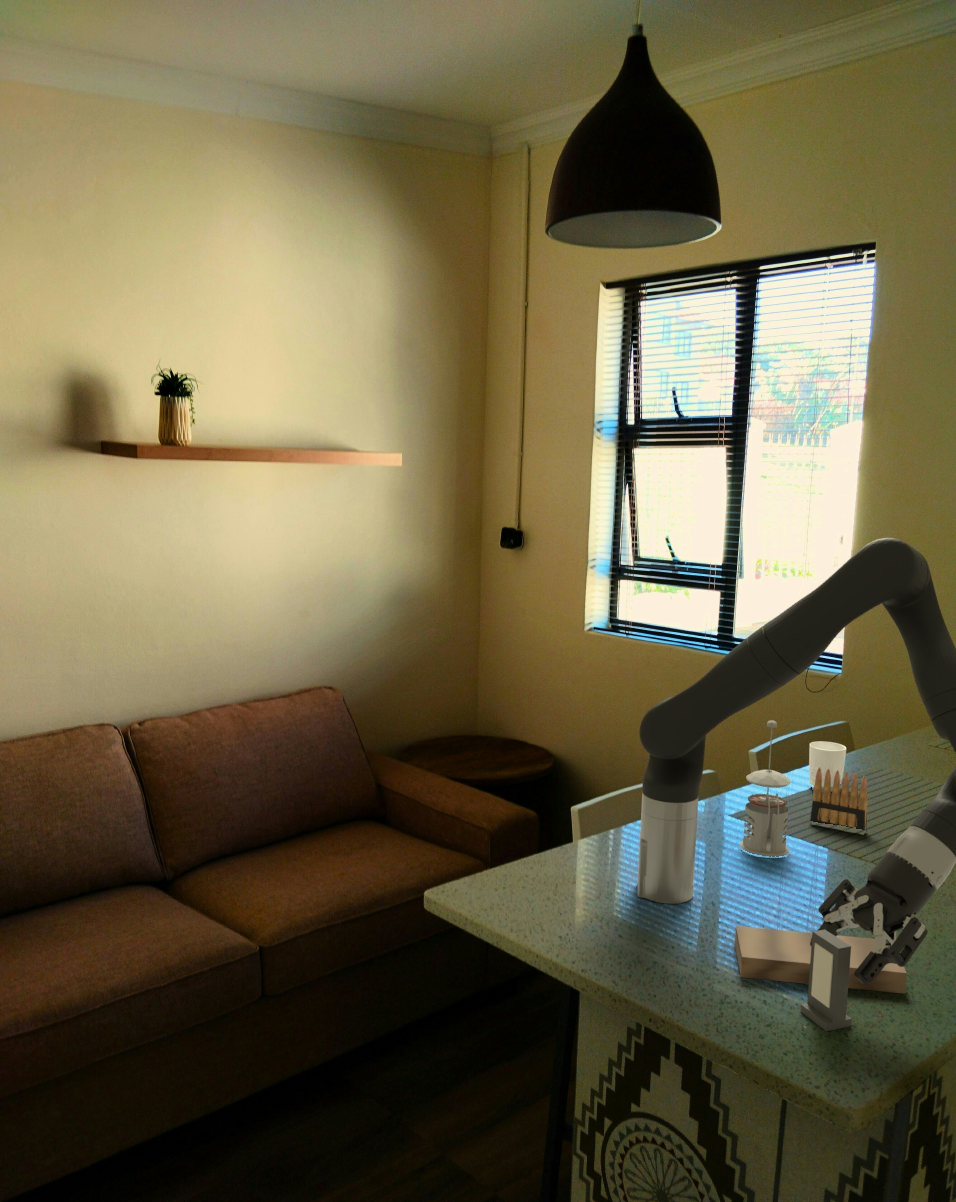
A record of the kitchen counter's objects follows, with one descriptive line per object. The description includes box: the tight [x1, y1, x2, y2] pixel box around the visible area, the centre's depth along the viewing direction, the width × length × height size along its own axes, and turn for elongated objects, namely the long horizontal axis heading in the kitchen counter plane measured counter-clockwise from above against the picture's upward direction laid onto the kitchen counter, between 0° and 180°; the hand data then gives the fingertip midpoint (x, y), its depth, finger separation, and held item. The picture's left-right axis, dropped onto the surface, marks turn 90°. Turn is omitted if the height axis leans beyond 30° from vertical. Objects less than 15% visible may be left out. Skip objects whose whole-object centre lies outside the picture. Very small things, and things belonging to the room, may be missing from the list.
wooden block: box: [734, 925, 908, 994], centre depth 146 cm, size 22×10×3 cm, turn 81°
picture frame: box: [800, 930, 853, 1032], centre depth 132 cm, size 4×5×11 cm
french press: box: [739, 719, 792, 857], centre depth 190 cm, size 10×12×25 cm
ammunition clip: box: [809, 767, 868, 830], centre depth 204 cm, size 11×2×12 cm, turn 57°
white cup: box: [808, 740, 847, 787], centre depth 230 cm, size 8×8×10 cm
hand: (836, 964), depth 132 cm, fingers open, 8 cm apart
